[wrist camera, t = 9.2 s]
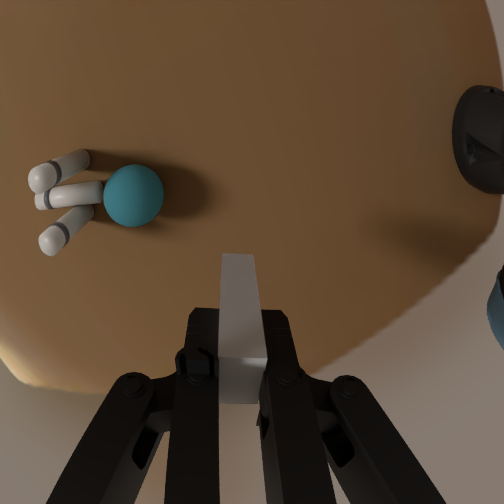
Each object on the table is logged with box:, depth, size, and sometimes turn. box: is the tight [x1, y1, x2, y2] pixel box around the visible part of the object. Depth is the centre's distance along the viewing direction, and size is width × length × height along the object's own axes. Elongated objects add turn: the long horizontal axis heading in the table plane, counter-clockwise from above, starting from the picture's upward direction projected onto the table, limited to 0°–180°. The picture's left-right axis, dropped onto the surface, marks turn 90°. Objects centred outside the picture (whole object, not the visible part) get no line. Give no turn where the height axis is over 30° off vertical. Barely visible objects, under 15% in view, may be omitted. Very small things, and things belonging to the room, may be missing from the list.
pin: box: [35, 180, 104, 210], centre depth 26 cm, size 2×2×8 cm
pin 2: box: [39, 204, 94, 256], centre depth 25 cm, size 2×2×8 cm
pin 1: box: [28, 149, 90, 194], centre depth 22 cm, size 2×2×8 cm
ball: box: [103, 165, 164, 227], centre depth 25 cm, size 6×6×6 cm
